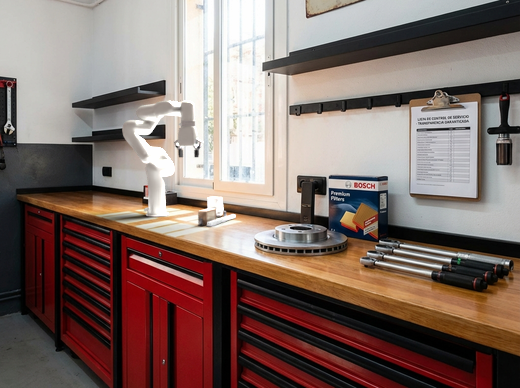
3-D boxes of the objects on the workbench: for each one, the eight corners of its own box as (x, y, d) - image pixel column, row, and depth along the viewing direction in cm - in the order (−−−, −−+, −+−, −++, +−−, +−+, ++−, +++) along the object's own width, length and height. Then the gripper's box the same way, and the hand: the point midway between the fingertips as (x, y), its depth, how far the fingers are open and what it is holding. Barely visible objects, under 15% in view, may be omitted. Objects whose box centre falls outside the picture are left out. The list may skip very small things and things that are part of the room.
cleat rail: (207, 226, 199) (207, 222, 199) (232, 217, 225) (232, 214, 225) (210, 226, 198) (210, 222, 198) (235, 217, 224) (235, 214, 224)
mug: (229, 216, 230) (228, 198, 229) (216, 218, 224) (216, 199, 223) (217, 214, 239) (217, 196, 238) (205, 215, 234) (204, 197, 233)
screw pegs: (198, 225, 201) (198, 218, 201) (224, 217, 226) (224, 211, 226) (201, 225, 200) (201, 218, 200) (226, 217, 226) (226, 211, 225)
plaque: (198, 224, 204) (198, 210, 203) (208, 221, 213) (208, 208, 212) (206, 225, 202) (206, 211, 201) (216, 222, 211) (215, 208, 210)
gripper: (170, 125, 217) (171, 157, 219) (198, 124, 210) (199, 157, 212) (177, 126, 224) (178, 157, 225) (205, 124, 217) (206, 157, 219)
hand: (188, 157), depth 219 cm, fingers open, 9 cm apart
